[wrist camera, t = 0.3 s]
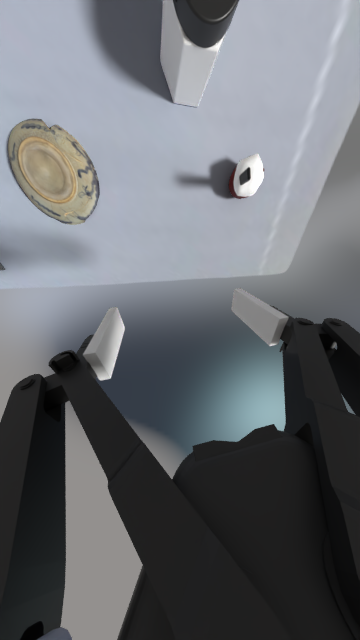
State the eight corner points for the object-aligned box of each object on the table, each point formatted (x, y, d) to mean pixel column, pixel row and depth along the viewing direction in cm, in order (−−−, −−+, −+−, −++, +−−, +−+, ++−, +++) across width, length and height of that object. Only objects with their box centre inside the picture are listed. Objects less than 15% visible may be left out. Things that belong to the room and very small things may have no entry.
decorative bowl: (43, 228, 31) (111, 221, 32) (30, 227, 28) (107, 220, 29) (-13, 121, 23) (81, 118, 24) (-39, 102, 20) (70, 100, 21)
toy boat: (255, 167, 32) (308, 132, 21) (249, 202, 35) (292, 186, 25) (218, 163, 30) (256, 122, 20) (214, 200, 33) (246, 182, 23)
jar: (179, -10, 20) (208, -263, 10) (220, 54, 23) (273, -87, 13) (152, 79, 23) (153, -41, 13) (191, 124, 26) (216, 55, 16)
